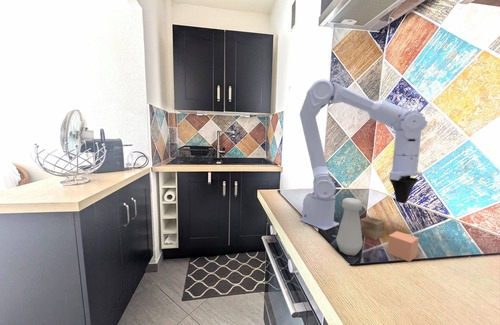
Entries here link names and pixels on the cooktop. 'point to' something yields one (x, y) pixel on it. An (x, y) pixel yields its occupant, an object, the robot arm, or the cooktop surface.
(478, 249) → the cooktop surface
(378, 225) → the walnut block
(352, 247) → the salt shaker
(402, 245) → the terracotta block
